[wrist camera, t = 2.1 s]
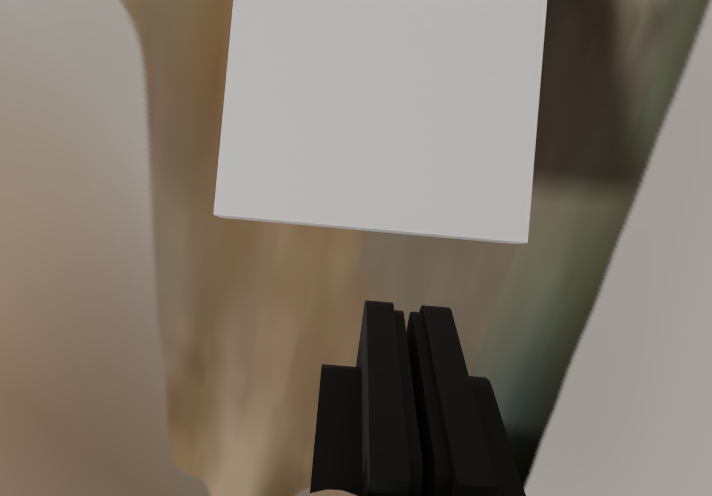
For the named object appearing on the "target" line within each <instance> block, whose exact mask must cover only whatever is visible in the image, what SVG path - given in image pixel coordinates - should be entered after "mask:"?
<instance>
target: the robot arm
mask: <svg viewBox="0 0 712 496" xmlns="http://www.w3.org/2000/svg"><path fill="white" fill-rule="evenodd" d="M307 496H526V495H525V492H524V488H523V485H522V482H521V479H520V476H519V472H518V469H517V466H516V463H515V460H514V456H513V453H512V450H511V447H510V443H509V440H508V437H507V434H506V431H505V427H504V424H503V421H502V418H501V415H500V411H499V408H498V405H497V402H496V398H495V395H494V392H493V389H492V386H491V384H490V381H489V380H488V379H487V378H485V377H473V376H469V375H468V372H467V368H466V364H465V360H464V356H463V353H462V349H461V345H460V341H459V337H458V334H457V330H456V326H455V322H454V318H453V315H452V311H451V309H450V308H447V307H436V306H424V305H422V306H421V308H420V311H419V312H411V313H410V316H409V320H408V326H407V331H406V328H405V320H404V313H403V311H397V310H394V305H393V303H389V302H378V301H365V304H364V311H363V318H362V326H361V334H360V341H359V349H358V356H357V364H356V367H349V366H336V365H324V364H322V368H321V379H320V390H319V401H318V412H317V423H316V434H315V445H314V456H313V467H312V478H311V489H310V494H309V495H307Z"/></svg>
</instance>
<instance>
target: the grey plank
mask: <svg viewBox="0 0 712 496" xmlns="http://www.w3.org/2000/svg"><path fill="white" fill-rule="evenodd" d="M546 9H547V0H233V11H232V22H231V32H230V43H229V54H228V65H227V75H226V86H225V97H224V108H223V118H222V129H221V140H220V151H219V161H218V172H217V183H216V194H215V204H214V215H216V216H219V217H222V218H231V219H242V220H253V221H265V222H276V223H287V224H298V225H309V226H320V227H331V228H343V229H354V230H365V231H376V232H387V233H398V234H409V235H421V236H432V237H443V238H454V239H465V240H476V241H487V242H499V243H510V244H520V243H528V232H529V219H530V207H531V195H532V182H533V170H534V157H535V145H536V133H537V120H538V108H539V96H540V83H541V71H542V58H543V46H544V34H545V21H546Z"/></svg>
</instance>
